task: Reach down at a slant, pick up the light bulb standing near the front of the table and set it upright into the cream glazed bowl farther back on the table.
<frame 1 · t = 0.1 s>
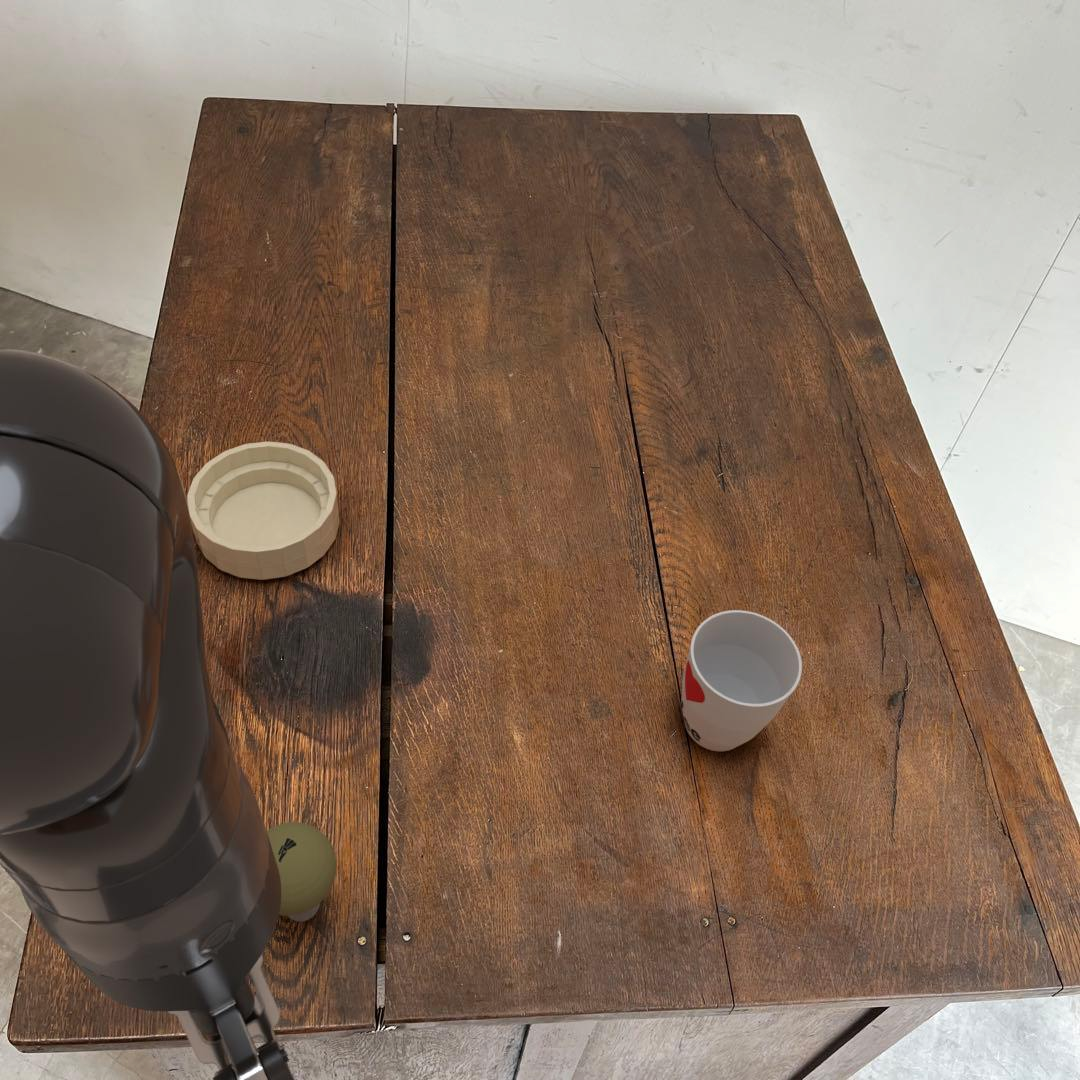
hand: (228, 992, 48), 20 cm above the table, tool pointing down, fingers open, 8 cm apart
bowl: (268, 527, 90), on the table
cup: (715, 724, 82), on the table
light bulb: (302, 907, 71), on the table
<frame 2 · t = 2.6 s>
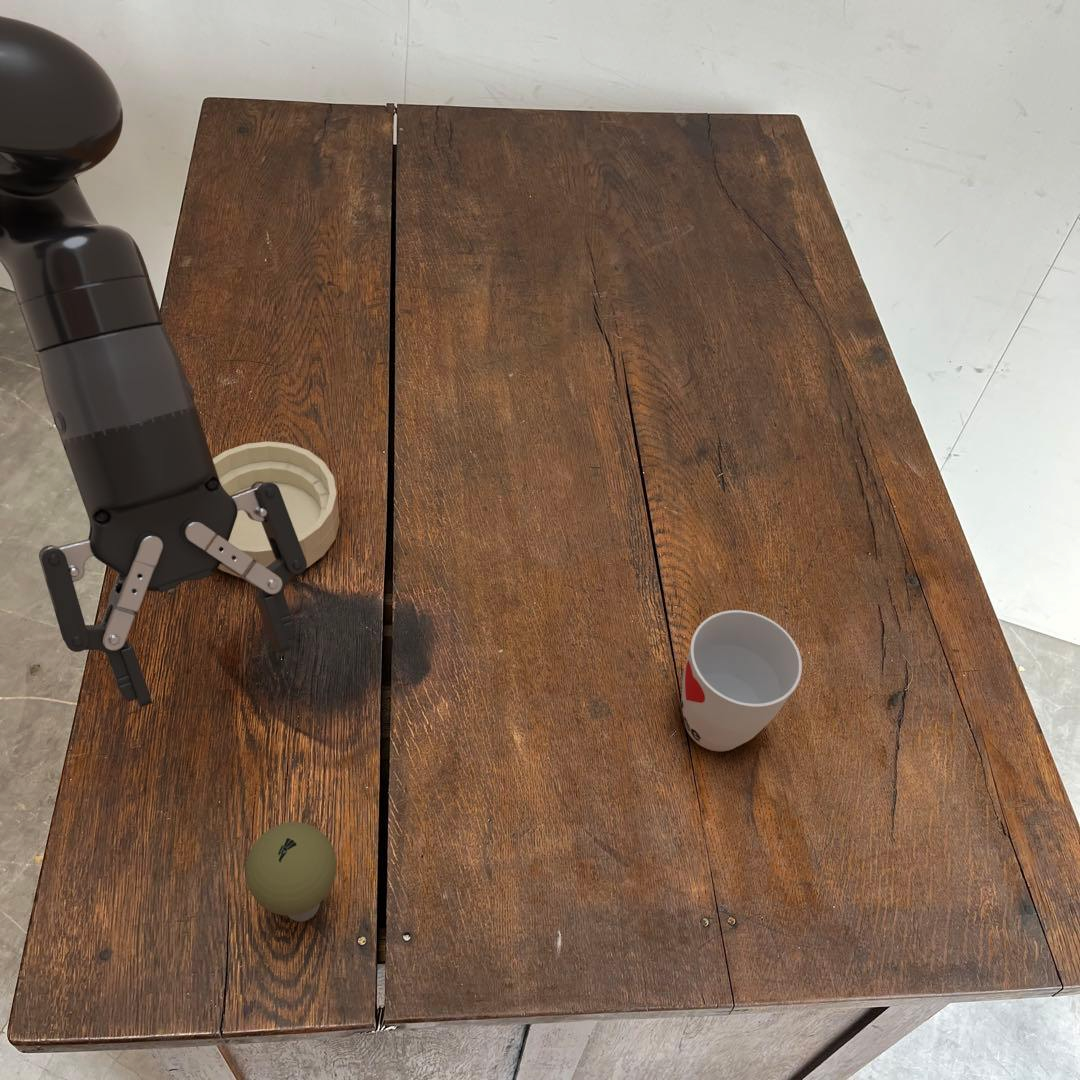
hand: (214, 675, 63), 16 cm above the table, tool tilted 40°, fingers open, 8 cm apart
nothing on the table moved.
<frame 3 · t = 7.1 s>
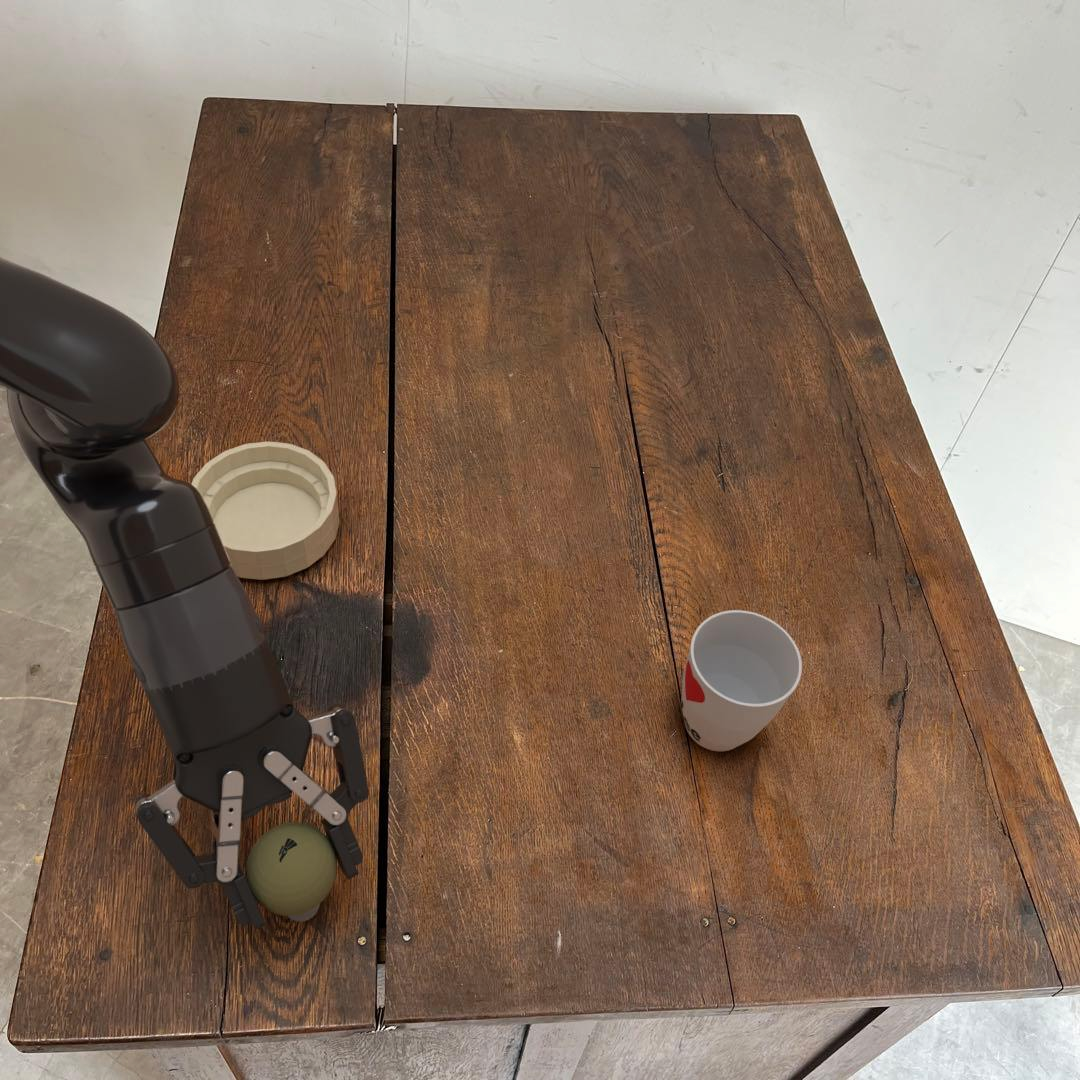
hand: (304, 897, 65), 6 cm above the table, tool tilted 45°, fingers closed on light bulb, 5 cm apart
light bulb: (302, 907, 71), on the table, touching gripper
everything else where it was.
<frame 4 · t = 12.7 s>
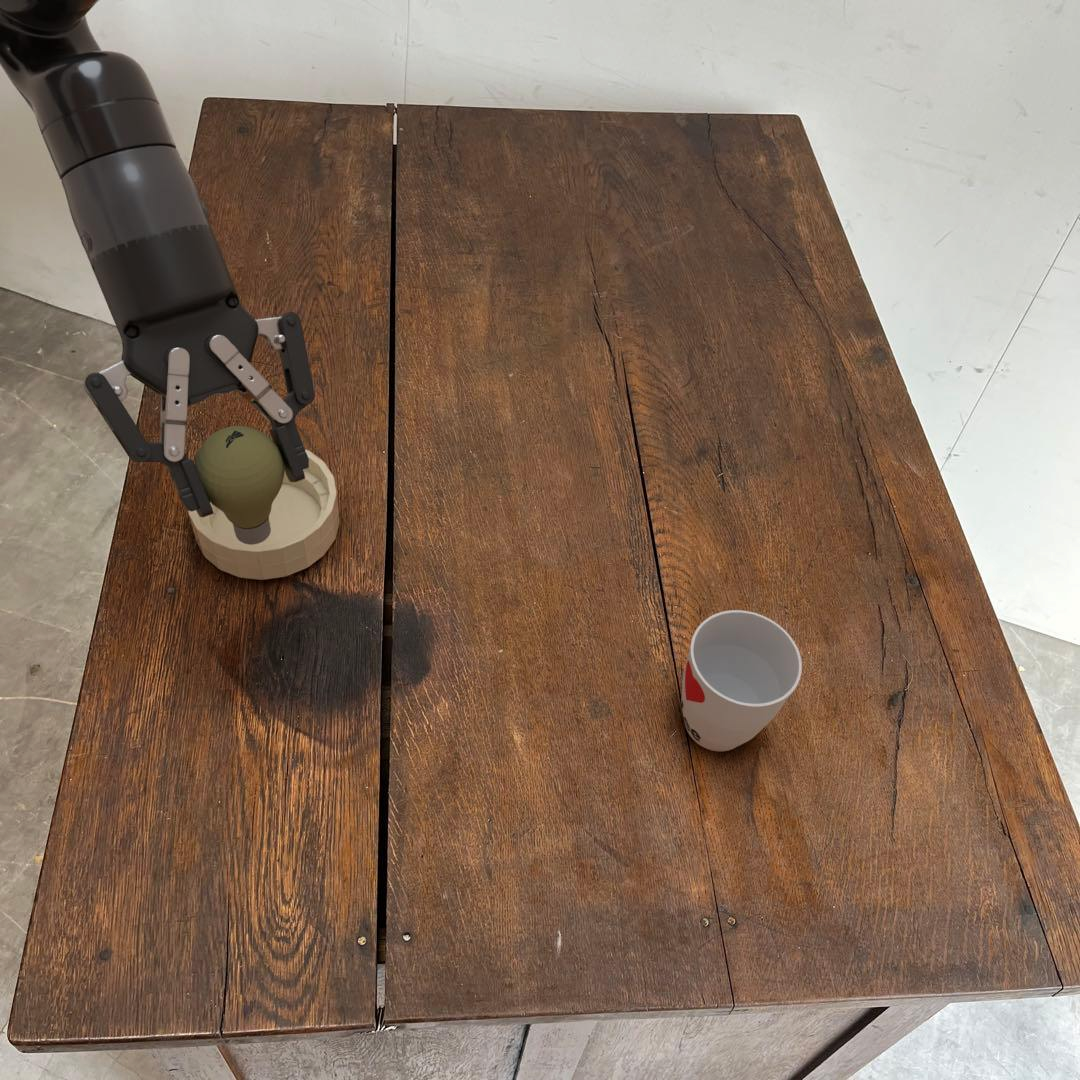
hand: (252, 496, 67), 20 cm above the table, tool tilted 45°, fingers closed on light bulb, 5 cm apart
light bulb: (254, 538, 72), point 14 cm above the table, touching gripper
everything else where it was.
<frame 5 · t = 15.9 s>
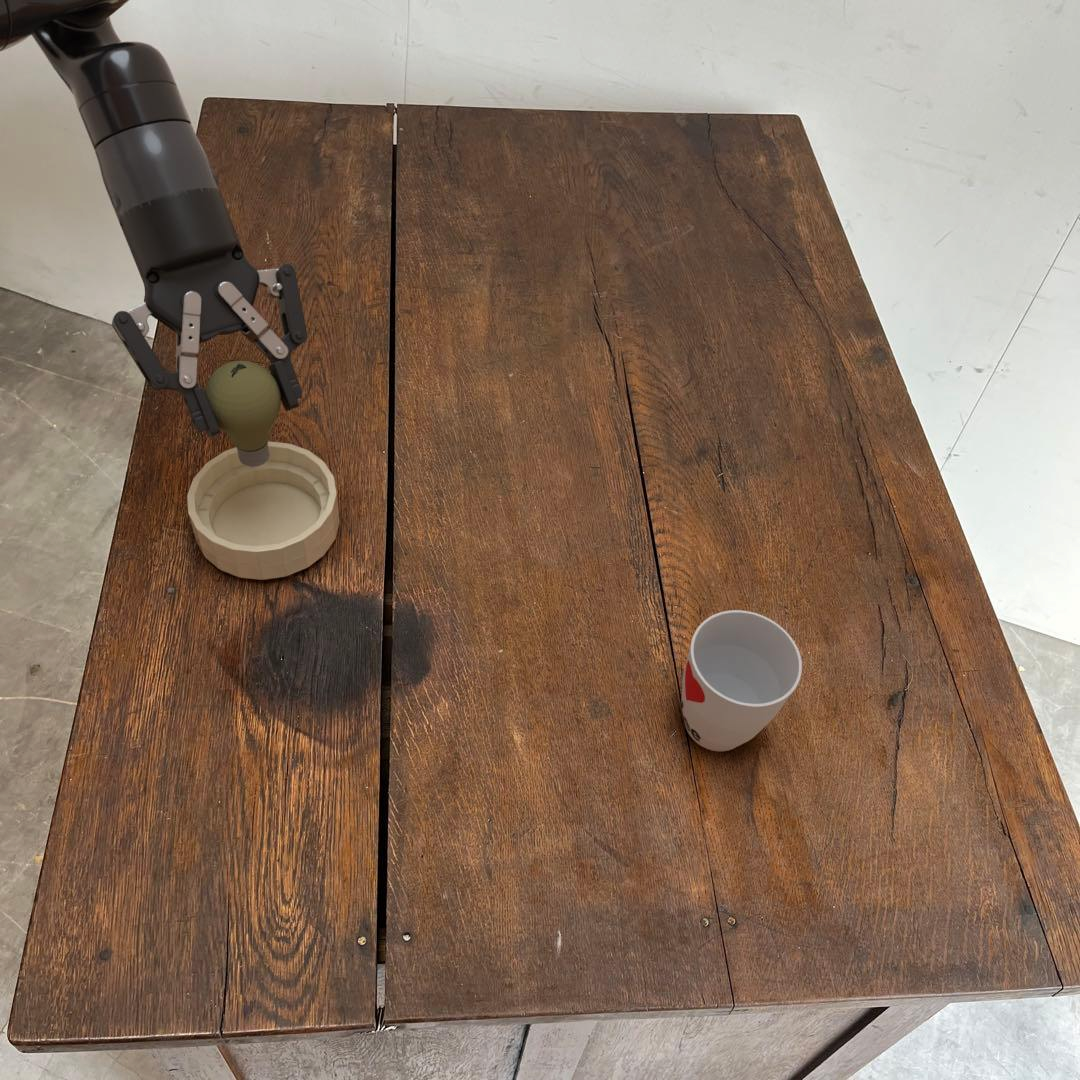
hand: (253, 421, 78), 15 cm above the table, tool tilted 45°, fingers closed on light bulb, 5 cm apart
light bulb: (255, 463, 84), point 8 cm above the table, touching gripper
everything else where it was.
when the fingers open (7 cm above the table, at t = 18.6 s): light bulb stays where it is, resting on bowl.
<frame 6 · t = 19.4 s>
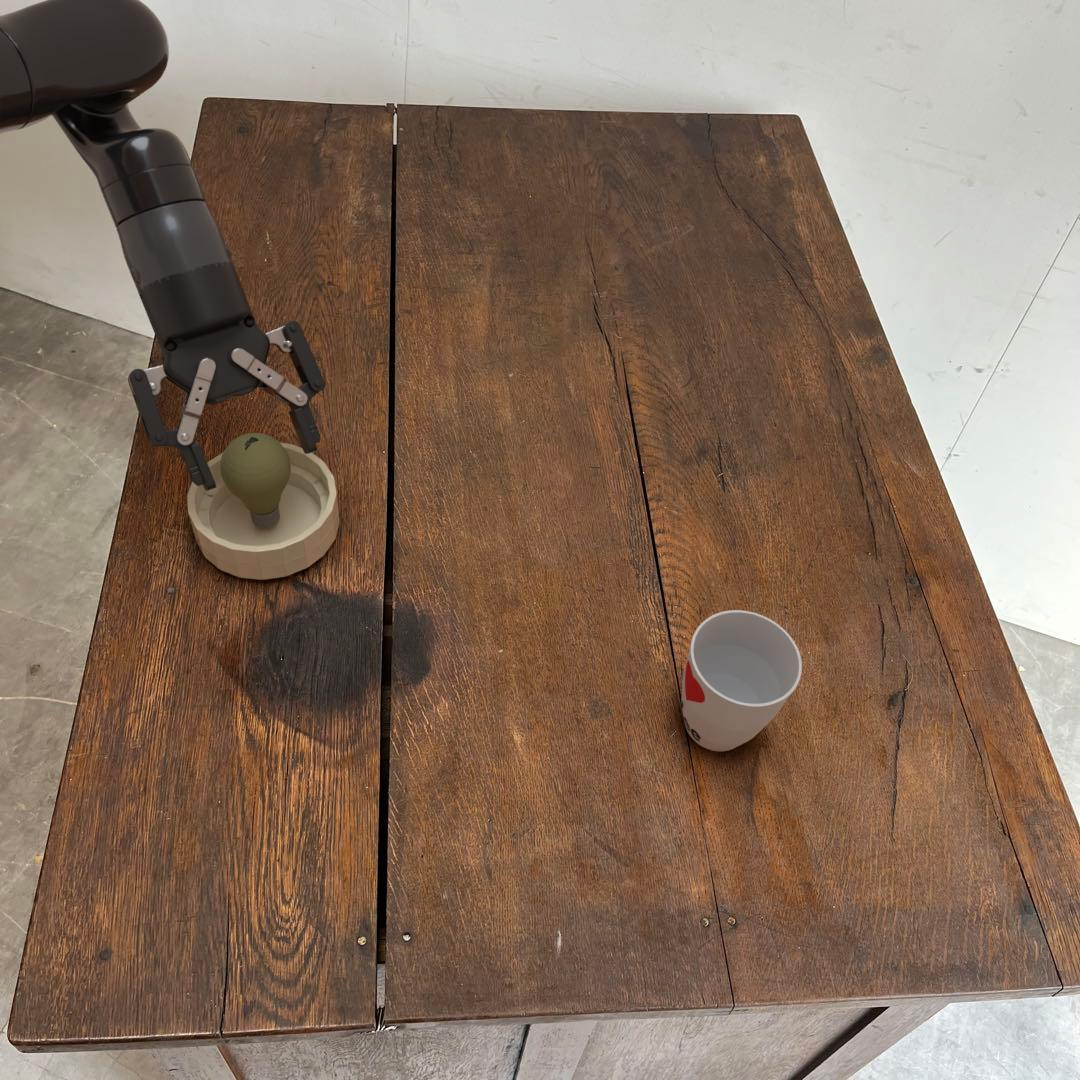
hand: (261, 470, 83), 9 cm above the table, tool tilted 45°, fingers open, 8 cm apart
light bulb: (266, 523, 90), resting on bowl
everything else where it was.
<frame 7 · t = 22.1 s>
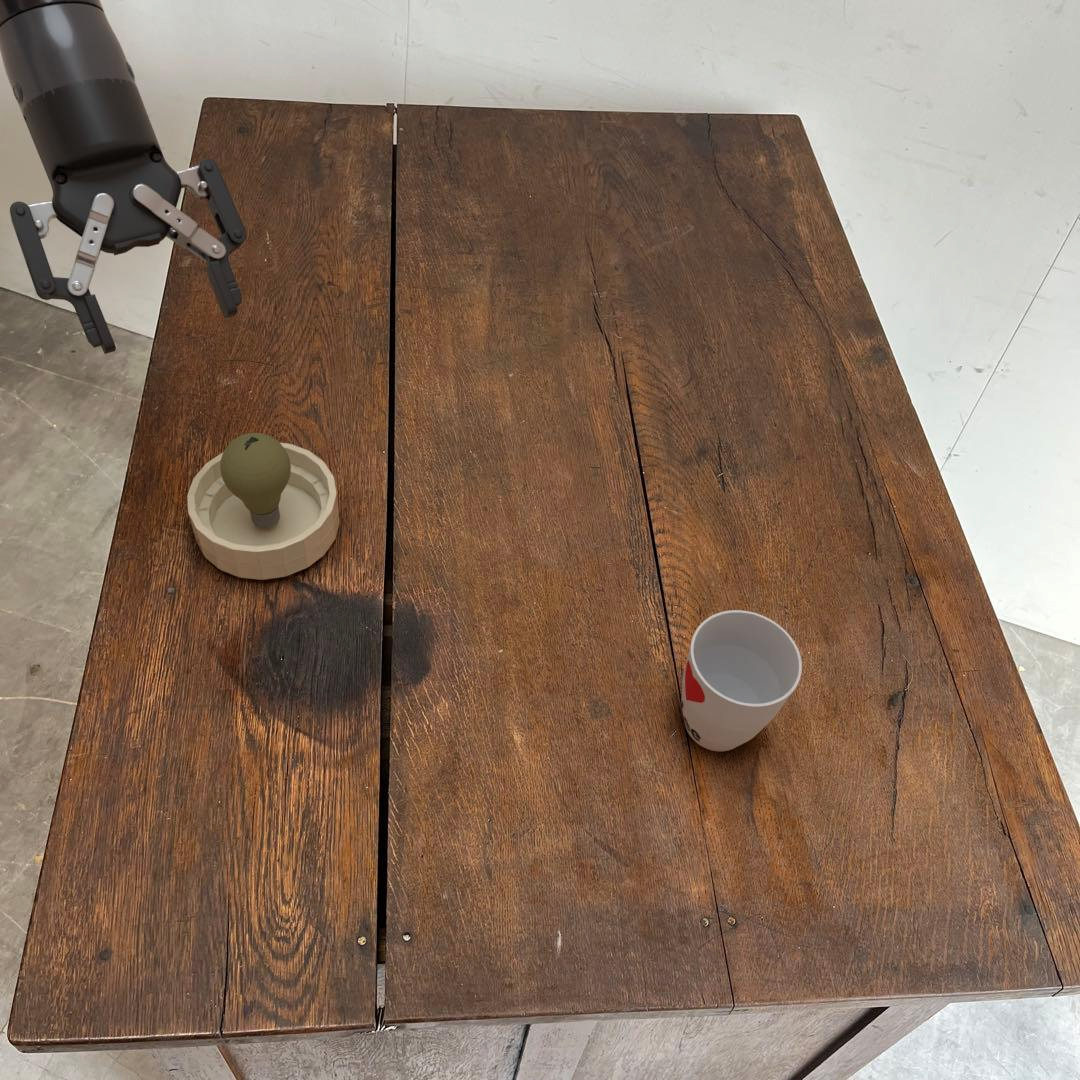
hand: (172, 333, 71), 23 cm above the table, tool tilted 45°, fingers open, 8 cm apart
nothing on the table moved.
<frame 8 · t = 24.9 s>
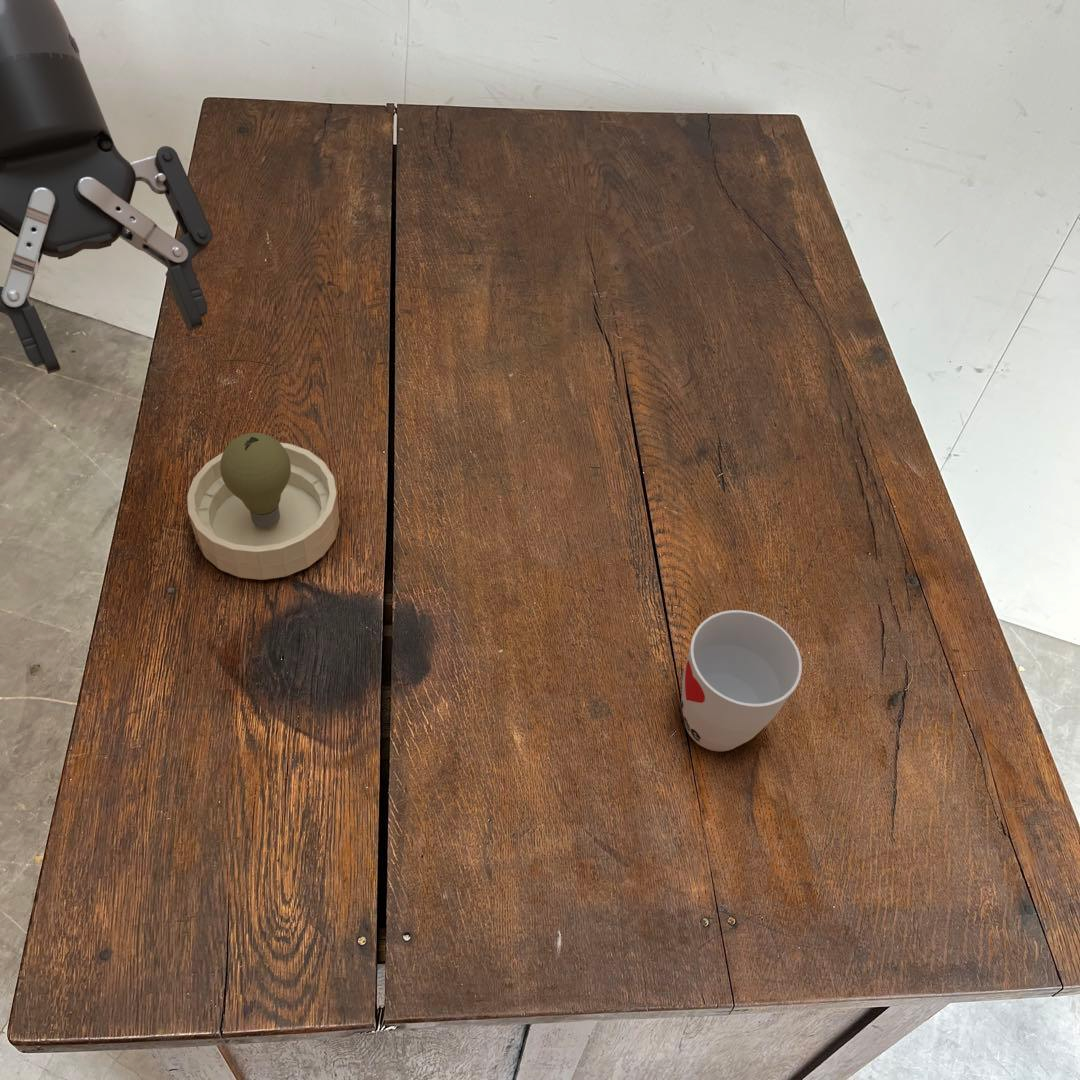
hand: (126, 349, 62), 29 cm above the table, tool tilted 45°, fingers open, 8 cm apart
nothing on the table moved.
at the end: light bulb inside the target area in the bowl (0.2 cm from its centre), point 0.4 cm above the bowl's base; the gripper is holding nothing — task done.
